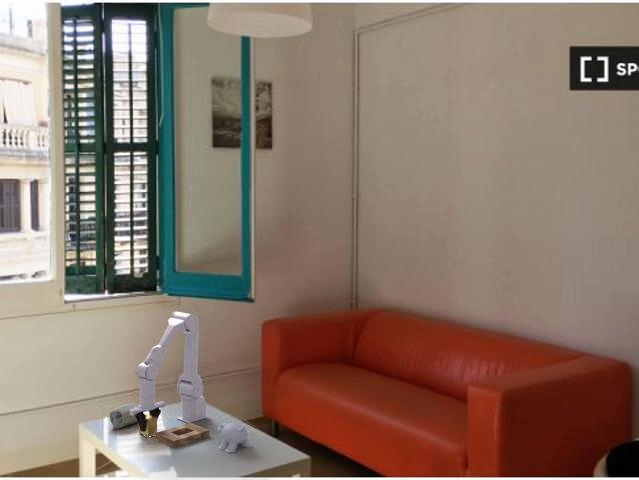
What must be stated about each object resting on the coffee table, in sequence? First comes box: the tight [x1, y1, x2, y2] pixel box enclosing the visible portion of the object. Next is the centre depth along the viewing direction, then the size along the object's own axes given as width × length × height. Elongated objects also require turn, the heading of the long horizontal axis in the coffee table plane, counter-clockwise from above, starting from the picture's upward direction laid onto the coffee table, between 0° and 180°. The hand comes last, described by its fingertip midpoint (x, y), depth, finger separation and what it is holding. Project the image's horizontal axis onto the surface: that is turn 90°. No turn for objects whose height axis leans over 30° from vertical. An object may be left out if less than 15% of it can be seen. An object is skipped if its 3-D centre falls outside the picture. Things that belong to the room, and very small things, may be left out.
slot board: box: [154, 422, 211, 449], centre depth 286 cm, size 16×12×2 cm
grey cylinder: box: [109, 402, 140, 430], centre depth 300 cm, size 14×10×10 cm
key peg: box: [138, 413, 158, 437], centre depth 290 cm, size 4×6×7 cm, turn 46°
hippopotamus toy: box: [217, 421, 252, 454], centre depth 278 cm, size 11×15×10 cm
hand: (147, 429), depth 290 cm, fingers closed on key peg, 4 cm apart
